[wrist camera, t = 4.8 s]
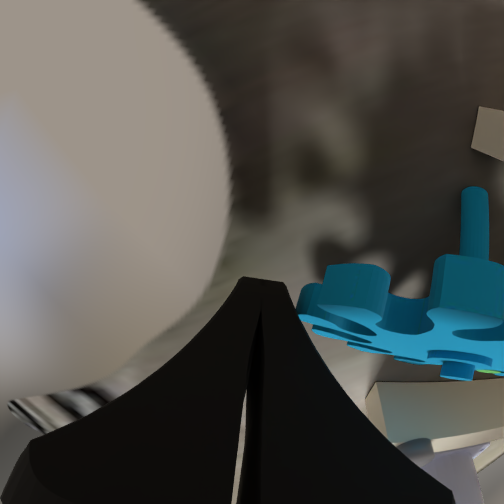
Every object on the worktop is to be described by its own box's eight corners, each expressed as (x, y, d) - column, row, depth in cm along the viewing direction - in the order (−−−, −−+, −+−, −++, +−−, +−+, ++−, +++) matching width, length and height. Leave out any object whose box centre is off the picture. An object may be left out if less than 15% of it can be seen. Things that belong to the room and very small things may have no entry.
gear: (231, 324, 10) (630, 337, 1) (284, 170, 12) (516, -1, 3) (431, 384, 13) (611, 394, 4) (452, 275, 15) (615, 244, 6)
